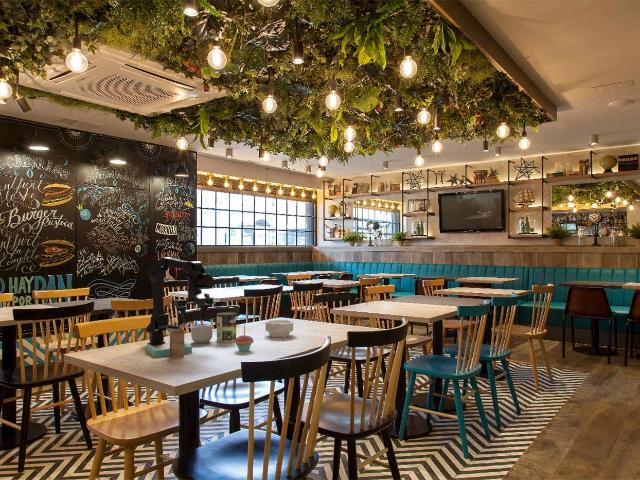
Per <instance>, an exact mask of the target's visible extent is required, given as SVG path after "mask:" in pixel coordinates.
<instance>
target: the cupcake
mask: <svg viewBox="0 0 640 480" xmlns="http://www.w3.org/2000/svg"><path fill="white" fill-rule="evenodd" d="M253 343H254V338H253V337H252V336H250V335H246V324H244V325H243V335H239V336H238V337H236V339H235V341H234V344H236V346H237V349H238V351H239V352H241V353H242V352H244V353H245V352H249V351H250V348H251V346H252V344H253Z"/></svg>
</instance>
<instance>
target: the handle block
mask: <svg viewBox="0 0 640 480" xmlns="http://www.w3.org/2000/svg"><path fill="white" fill-rule="evenodd" d="M184 342H185V329H183V328H173V329H169V348H170V356H169V357H170V359H171V358H172V359H173V360H174V359H175V360H176V359H180V358H185V354H184Z"/></svg>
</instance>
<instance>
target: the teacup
mask: <svg viewBox="0 0 640 480" xmlns="http://www.w3.org/2000/svg"><path fill="white" fill-rule="evenodd" d="M190 335H191V341H192V342H194V343H195V344H205V343H209V342H210V341H211V340H212V339H213V325H211V324H210V325H209V324H207V325H204V324H203V325H196V326H192V327H190Z"/></svg>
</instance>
